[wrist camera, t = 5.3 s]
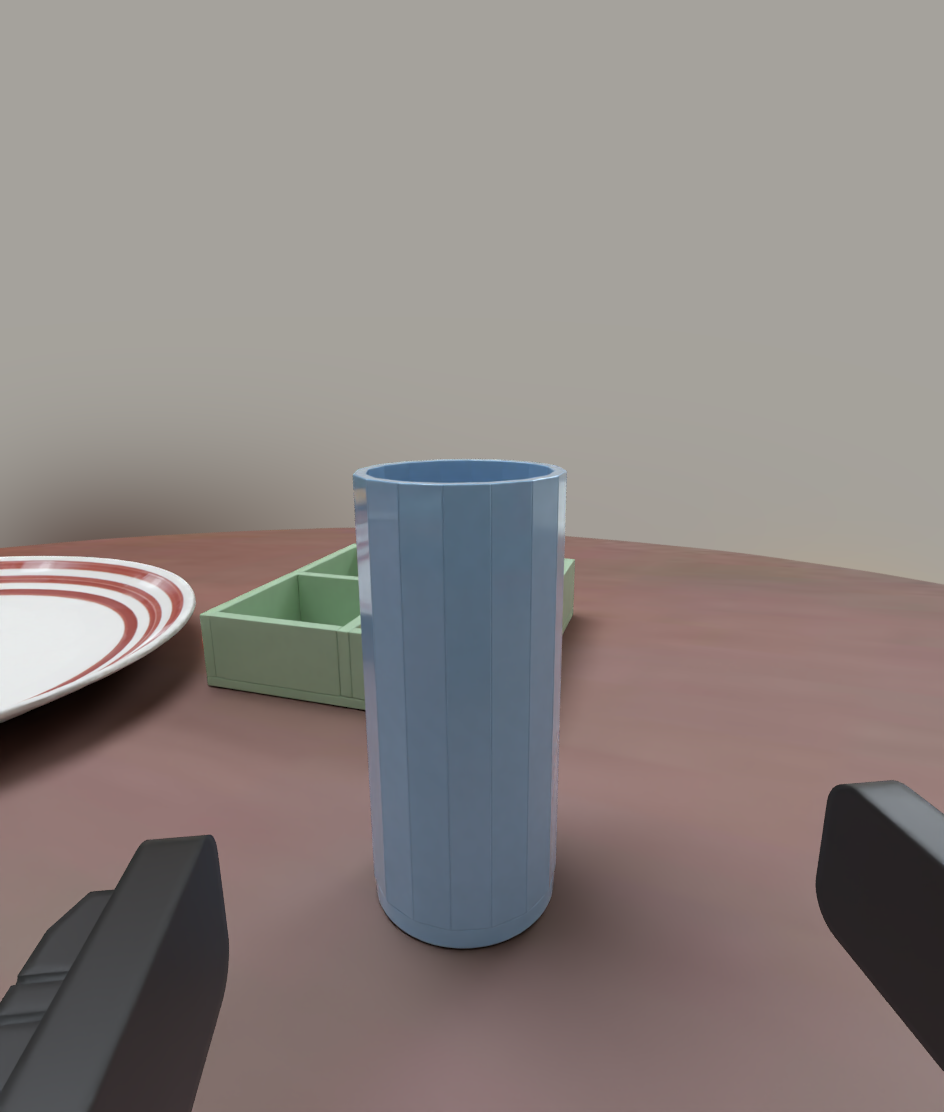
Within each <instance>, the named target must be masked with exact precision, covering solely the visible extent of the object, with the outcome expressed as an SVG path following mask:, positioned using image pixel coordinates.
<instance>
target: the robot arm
mask: <svg viewBox="0 0 944 1112" xmlns="http://www.w3.org/2000/svg"><path fill="white" fill-rule="evenodd" d="M816 894H817V900H818V904H819V907H820V910H821V913H822V915H823V918H824V920H825V922H826V924H827V926H828V928H829V929H830V931H831V932H832V934H833V935H834V936H835V938H836V939H837V940H838V942H839V943H840V944H841V945H842V946H843V948H844V949H845V950H846V951H847V953H848V954H849V955H850V956H851V958H852V959H853V960H854V961H855V963H856V964H857V965H858V966H859V967H860V969H861V970H862V971H863V972H864V974H865V975H866V976H867V977H868V979H869V980H870V981H871V982H872V984H873V985H874V986H875V987H876V988H877V990H878V991H879V992H880V993H881V995H882V996H883V997H884V998H885V1000H886V1001H887V1002H888V1003H889V1005H890V1006H891V1007H892V1008H893V1010H894V1011H895V1012H896V1013H897V1014H898V1016H899V1017H900V1018H901V1019H902V1021H903V1022H904V1023H905V1024H906V1026H907V1027H908V1028H909V1029H910V1031H911V1032H912V1033H913V1034H914V1035H915V1037H916V1038H917V1039H918V1040H919V1042H920V1043H921V1044H922V1045H923V1047H924V1048H925V1049H926V1050H927V1052H928V1053H929V1054H930V1055H931V1057H932V1058H933V1059H934V1060H935V1061H936V1063H937V1064H938V1065H939V1066H940V1068H941V1069H942V1070H943V1071H944V814H943V813H941V812H940V811H939V810H938V809H936V808H935V807H934V806H932V805H931V804H930V803H928V802H927V801H926V800H925V799H923V798H922V797H921V796H919V795H918V794H917V793H915V792H914V791H913V790H912V789H910V788H909V787H907V786H906V785H904V784H903V783H900V782H898V781H894V780H889V781H877V782H865V783H853V784H840V785H837V786H835V787H834V788H833V789H832V790H831V792H830V794H829V796H828V800H827V805H826V812H825V819H824V826H823V833H822V840H821V847H820V854H819V861H818V868H817V875H816ZM228 961H229V939H228V930H227V922H226V914H225V906H224V898H223V890H222V882H221V874H220V866H219V858H218V851H217V845H216V842H215V839H214V838H213V836H212V835H201V836H189V837H177V838H165V839H153V840H146V841H144V842H143V843H142V844H141V845H140V846H139V848H138V849H137V851H136V852H135V854H134V856H133V858H132V860H131V861H130V863H129V865H128V867H127V868H126V870H125V872H124V874H123V876H122V877H121V879H120V881H119V883H118V884H117V886H116V888H115V890H105V891H94V892H90V893H88V894H87V895H86V896H85V897H84V898H83V899H82V900H81V901H79V902H78V903H77V904H76V905H75V906H74V907H73V908H72V909H70V910H69V911H68V912H67V913H66V914H65V915H64V916H63V917H62V918H60V919H59V920H58V921H57V922H56V923H55V924H54V925H53V926H51V927H50V928H49V929H48V930H47V931H46V933H45V934H44V936H43V937H42V939H41V941H40V942H39V944H38V945H37V947H36V948H35V950H34V951H33V953H32V954H31V956H30V958H29V959H28V961H27V962H26V964H25V965H24V967H23V968H22V970H21V971H20V973H19V975H18V976H17V977H18V979H17V983H16V985H13V986H11V987H10V988H9V990H8V992H7V993H6V995H5V996H4V998H3V999H2V1001H1V1002H0V1112H191V1110H192V1107H193V1103H194V1100H195V1096H196V1093H197V1089H198V1086H199V1082H200V1079H201V1075H202V1071H203V1068H204V1064H205V1061H206V1057H207V1054H208V1050H209V1047H210V1043H211V1040H212V1036H213V1033H214V1029H215V1026H216V1022H217V1018H218V1015H219V1011H220V1008H221V1004H222V1001H223V997H224V992H225V987H226V981H227V973H228Z"/></svg>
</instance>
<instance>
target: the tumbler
mask: <svg viewBox="0 0 944 1112" xmlns="http://www.w3.org/2000/svg"><path fill="white" fill-rule="evenodd" d="M566 478H567V471H566V470H564V469H562V468H560V467H559V466H555V465H550V464H544V463H538V462H526V461H515V460H491V459H444V460H443V459H442V460H423V461H422V460H421V461H405V462H395V463H387V464H378V465H373V466H370V467H365V468H361V469H358V470H356V472H355V473H354V474H353V489H354V506H355V507H354V508H355V526H356V544H357V563H358V581H359V600H360V618H361V637H362V655H363V674H364V692H365V711H366V729H367V748H368V766H369V785H370V803H371V822H372V840H373V858H374V875H375V878H376V888H377V894H378V898H379V901H380V904H381V906H382V908H383V909H384V911H385V913H386V914H387V916H388V917H389V918H390V919H391V920H392V922H393V923H394V924H396V925H397V926H398V927H399V928H400V929H401V930H403V931H404V932H406V933H407V934H409V935H410V936H413V937H415V938H417V939H419V940H421V941H424V942H427V943H430V944H433V945H437V946H442V947H448V948H478V947H485V946H489V945H494V944H498V943H500V942H503V941H506V940H508V939H510V938H512V937H514V936H516V935H518V934H520V933H522V932H523V931H524V930H526V929H527V928H529V927H530V926H531V925H532V924H533V923H534V922H535V921H537V919H538V918H539V917H540V916H541V915H542V913H543V912H544V910H545V909H546V907H547V905H548V903H549V901H550V898H551V896H552V891H553V885H554V870H555V866H556V835H557V800H558V764H559V729H560V693H561V658H562V622H563V587H564V551H565V516H566V515H565V514H566V480H567V479H566Z"/></svg>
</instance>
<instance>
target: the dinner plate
mask: <svg viewBox="0 0 944 1112" xmlns="http://www.w3.org/2000/svg"><path fill="white" fill-rule="evenodd" d="M195 601H196V599H195V595H194V592H193V590H192V588H191V587H190V586H189V584H188V583H187V582H186V581H184V580H183V579H182V578H181V577H179V576H177V575H175V574H174V573H172V572H169V571H167V570H164V569H161V568H158V567H154V566H150V565H146V564H141V563H136V562H130V561H123V560H116V559H106V558H93V557H68V556H14V557H0V723H2V722H5V721H7V720H10V719H12V718H15V717H17V716H19V715H22V714H24V713H26V712H28V711H30V710H32V709H35V708H37V707H40V706H42V705H45V704H47V703H50V702H52V701H54V700H56V699H59V698H61V697H63V696H65V695H68V694H70V693H72V692H74V691H77V690H79V689H81V688H83V687H85V686H87V685H89V684H91V683H93V682H96V681H98V680H101V679H103V678H105V677H107V676H109V675H111V674H113V673H115V672H117V671H119V670H121V669H123V668H125V667H126V666H128V665H130V664H132V663H134V662H136V661H137V660H139V659H141V658H142V657H144V656H146V655H147V654H149V653H151V652H152V651H154V650H155V649H157V648H158V647H159V646H161V645H162V644H164V643H165V642H166V641H168V640H169V639H170V638H171V637H173V636H174V635H175V634H176V633H177V632H179V631H180V630H181V629H182V628H183V627H184V625H185V624H186V623H187V621H188V620H189V618H190V617H191V615H192V614H193V611H194V608H195V604H196V602H195Z"/></svg>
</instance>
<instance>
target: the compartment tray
mask: <svg viewBox="0 0 944 1112" xmlns="http://www.w3.org/2000/svg"><path fill="white" fill-rule="evenodd" d="M574 571H575V559H564V587H563V622H562V635H563V633H564V631H565V629H566V627H567V625H568V623H569V621H570V619H571V618H572V616H573V601H574ZM200 622H201V630H202V638H203V647H204V655H205V664H206V672H207V675H208V676H207V681H208V685H211V686H217V687H224V688H230V689H236V690H243V691H249V692H255V693H261V694H268V695H274V696H280V697H287V698H293V699H299V700H305V701H312V702H318V703H324V704H331V705H337V706H343V707H350V708H356V709H362V710H365V692H364V674H363V655H362V637H361V618H360V600H359V581H358V563H357V544H352V545H350V546H348V547H346V548H344V549H341V550H339V551H337V552H335V553H333V554H330V555H328V556H326V557H324V558H322V559H320V560H317V561H315V562H313V563H311V564H309V565H306V566H304V567H302V568H300V569H298V570H296V571H293V572H291V573H289V574H287V575H285V576H282V577H280V578H278V579H276V580H274V581H272V582H269V583H267V584H265V585H263V586H261V587H258V588H256V589H254V590H252V591H250V592H248V593H245V594H243V595H241V596H239V597H237V598H234V599H232V600H230V601H228V602H226V603H224V604H221V605H219V606H217V607H215V608H213V609H210V610H208V611H206V612H204V613H202V614H200Z"/></svg>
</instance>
